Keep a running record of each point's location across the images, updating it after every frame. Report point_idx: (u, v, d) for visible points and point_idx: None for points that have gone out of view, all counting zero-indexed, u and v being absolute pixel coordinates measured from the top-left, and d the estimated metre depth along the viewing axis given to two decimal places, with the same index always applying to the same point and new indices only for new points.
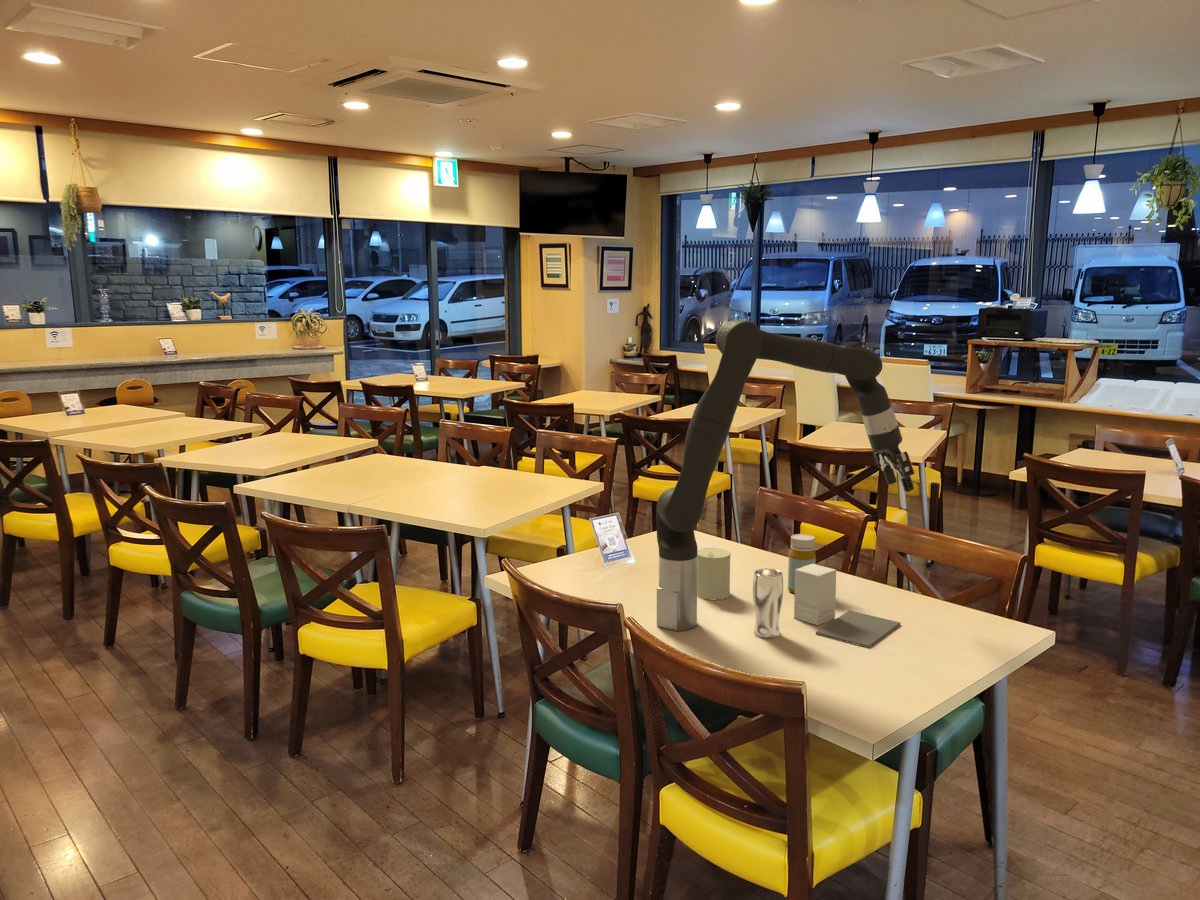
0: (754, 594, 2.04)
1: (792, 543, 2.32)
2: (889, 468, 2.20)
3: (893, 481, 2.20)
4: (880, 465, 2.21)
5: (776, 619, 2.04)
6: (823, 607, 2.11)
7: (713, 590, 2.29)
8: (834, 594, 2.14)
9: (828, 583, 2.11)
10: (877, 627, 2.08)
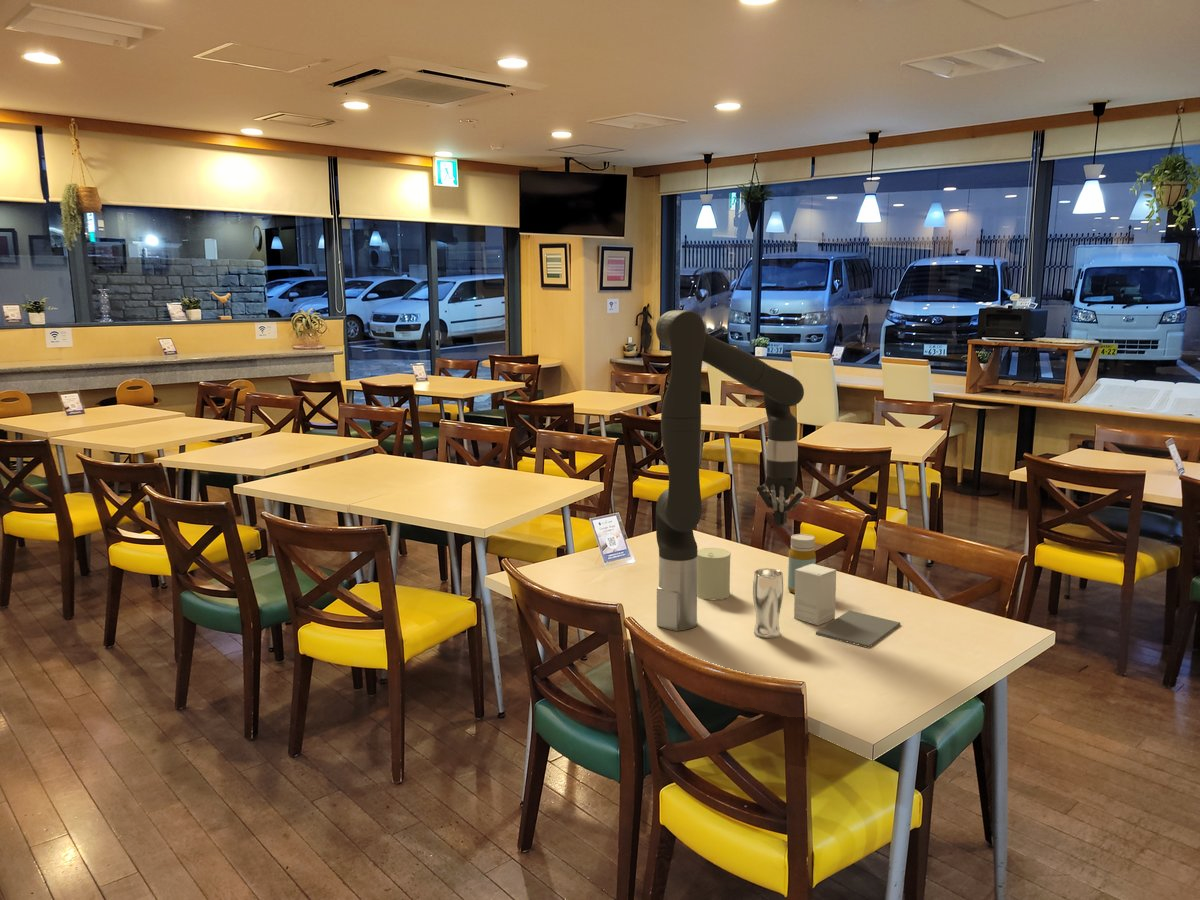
0: (754, 594, 2.04)
1: (792, 543, 2.32)
2: None
3: None
4: (771, 504, 2.18)
5: (776, 619, 2.04)
6: (823, 607, 2.11)
7: (713, 590, 2.29)
8: (834, 594, 2.14)
9: (828, 583, 2.11)
10: (877, 627, 2.08)
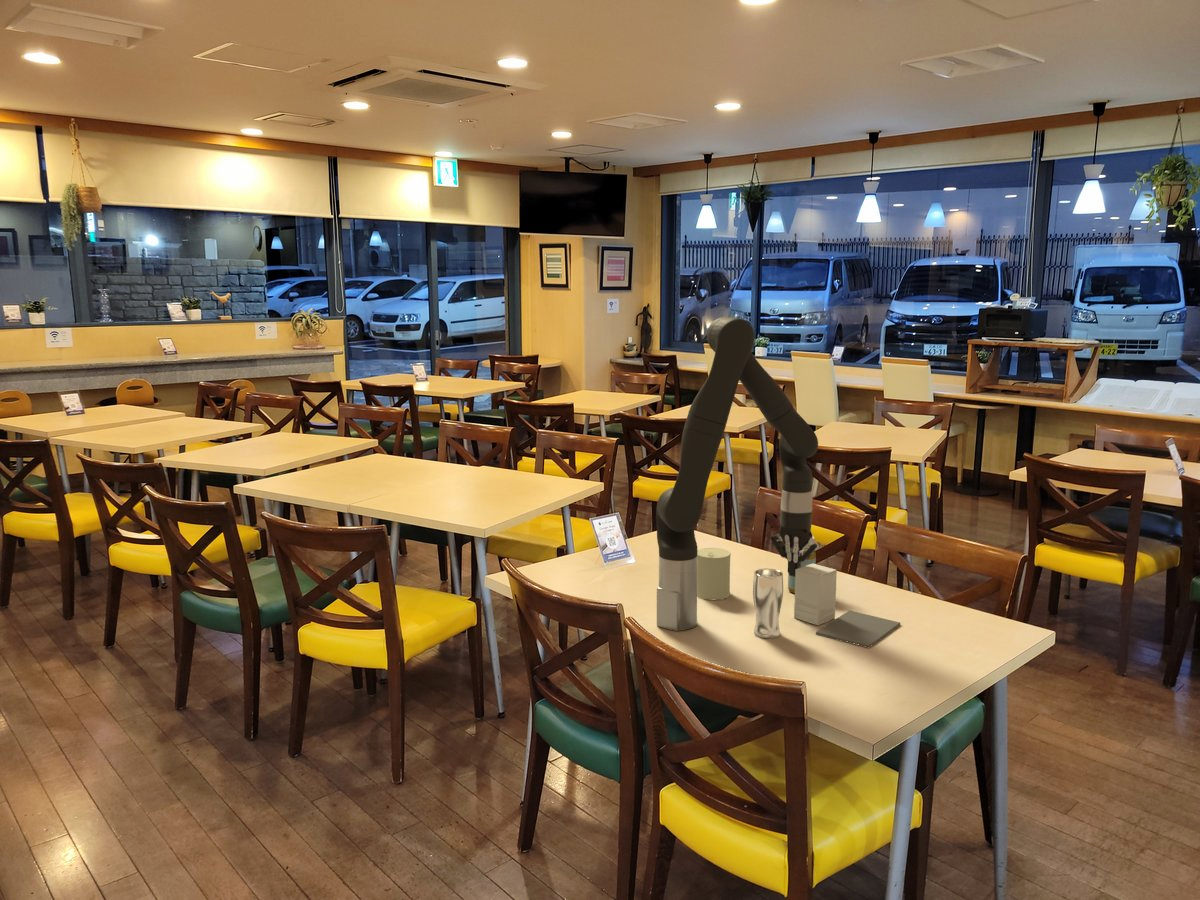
0: (754, 594, 2.04)
1: None
2: None
3: None
4: (785, 554, 2.18)
5: (776, 619, 2.04)
6: (823, 607, 2.11)
7: (713, 590, 2.29)
8: (834, 594, 2.14)
9: (828, 583, 2.11)
10: (877, 627, 2.08)
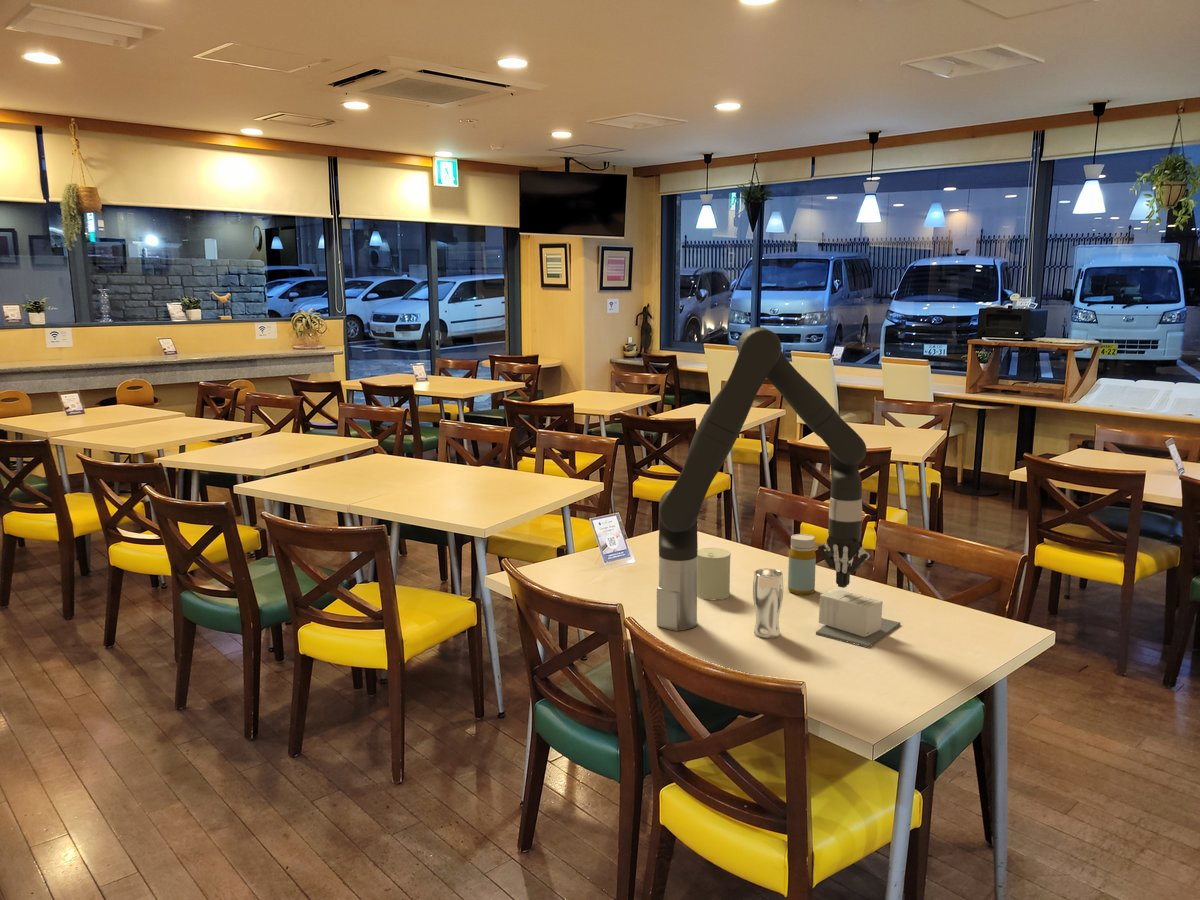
0: (754, 594, 2.04)
1: (792, 543, 2.32)
2: None
3: None
4: (833, 564, 2.09)
5: (776, 619, 2.04)
6: None
7: (713, 590, 2.29)
8: None
9: None
10: None
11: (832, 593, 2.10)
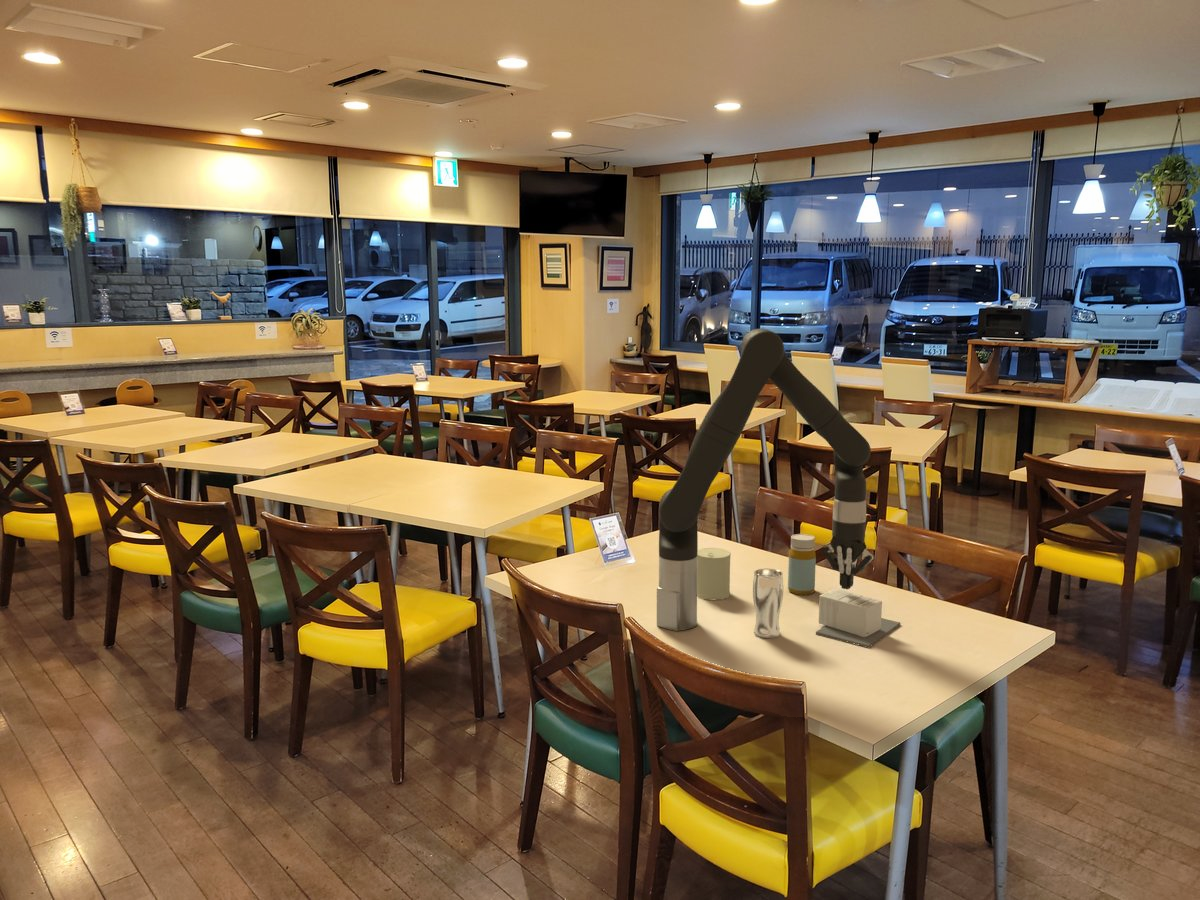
0: (754, 594, 2.04)
1: (792, 543, 2.32)
2: None
3: None
4: (837, 565, 2.09)
5: (776, 619, 2.04)
6: None
7: (713, 590, 2.29)
8: None
9: None
10: None
11: (832, 593, 2.10)
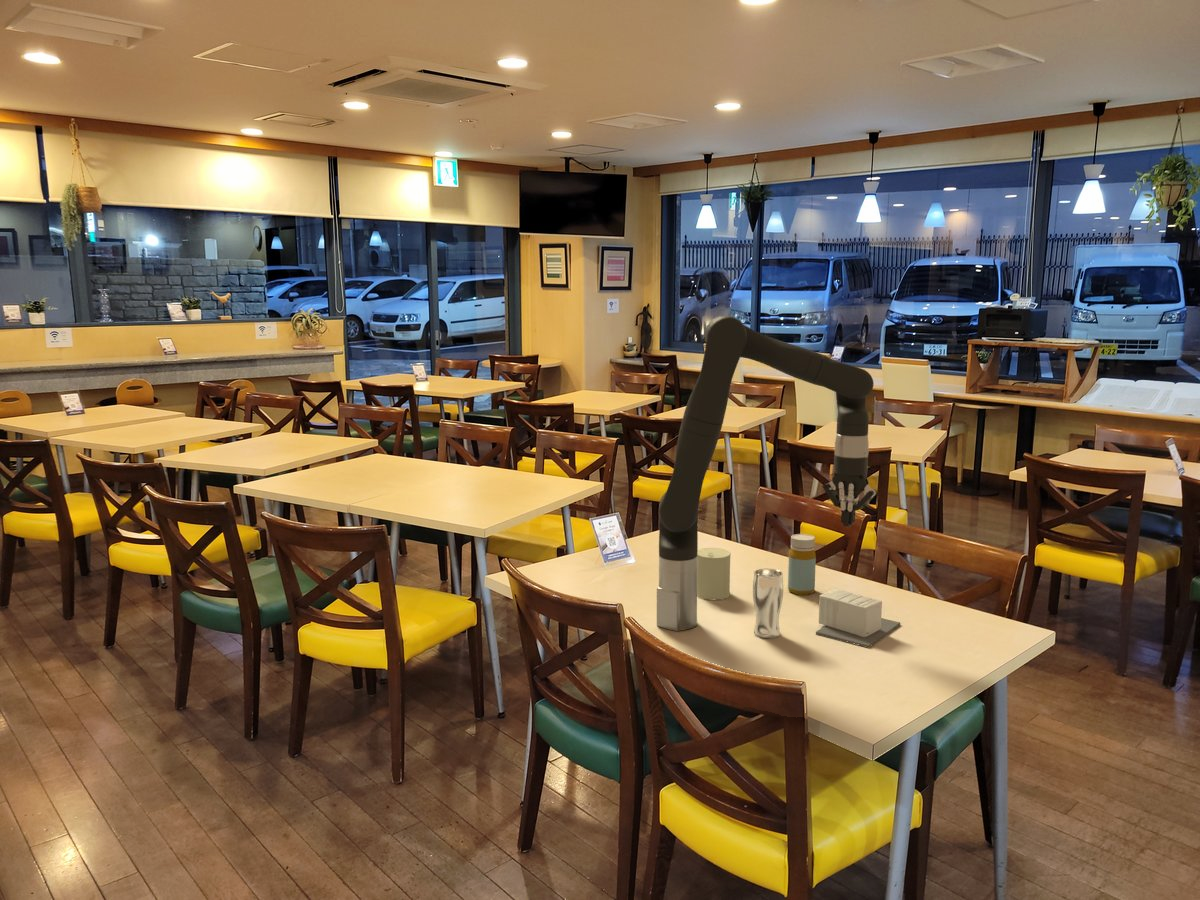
0: (754, 594, 2.04)
1: (792, 543, 2.32)
2: None
3: None
4: (838, 502, 2.06)
5: (776, 619, 2.04)
6: None
7: (713, 590, 2.29)
8: None
9: None
10: None
11: (832, 593, 2.10)
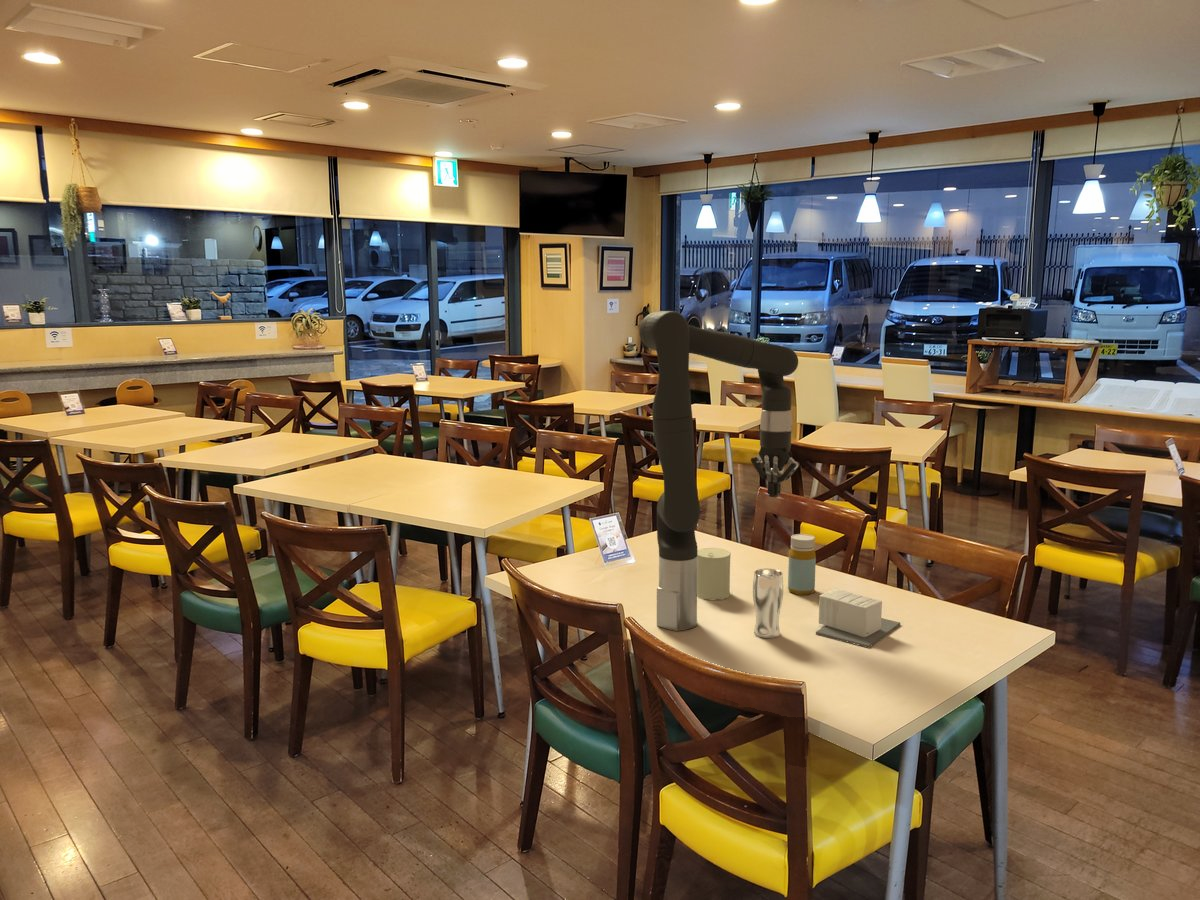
0: (754, 594, 2.04)
1: (792, 543, 2.32)
2: None
3: None
4: (765, 475, 2.18)
5: (776, 619, 2.04)
6: None
7: (713, 590, 2.29)
8: None
9: None
10: None
11: (832, 593, 2.10)
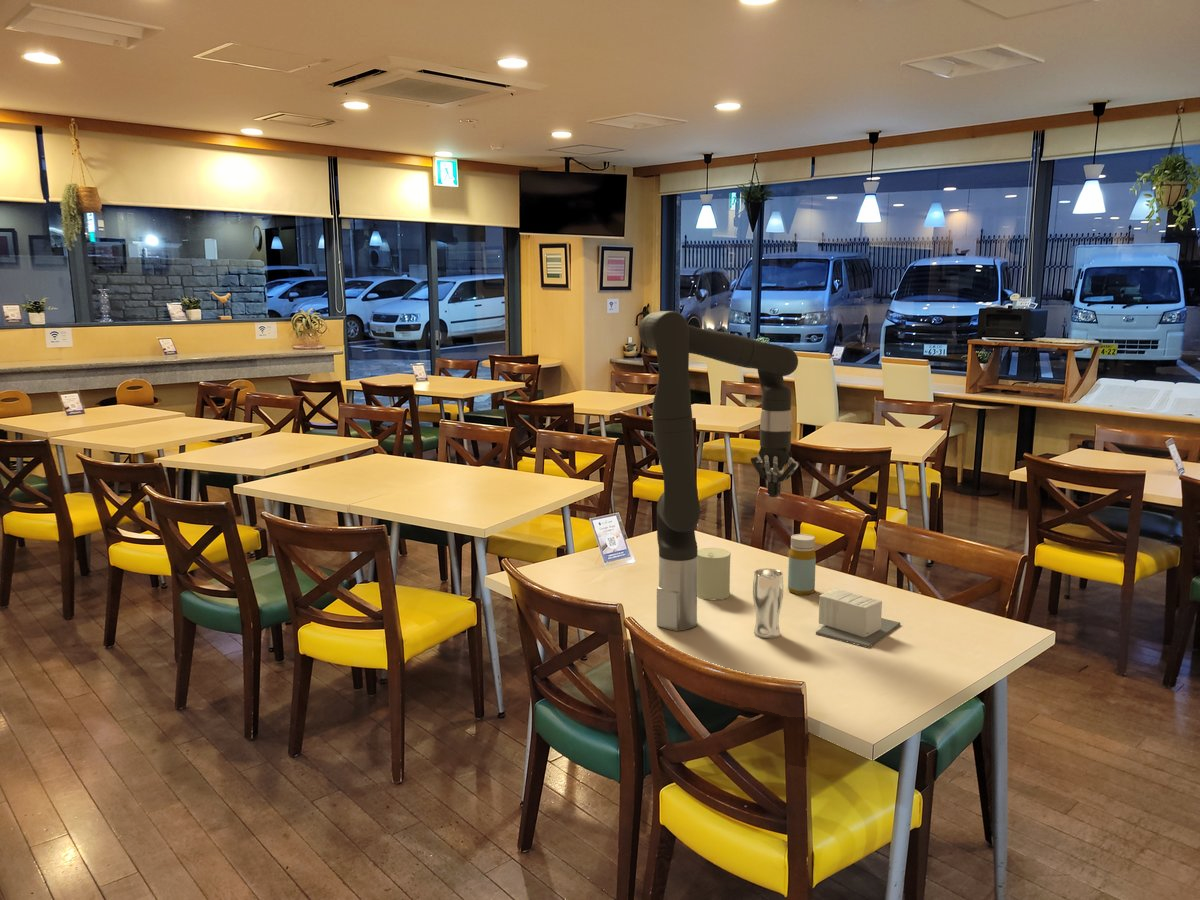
0: (754, 594, 2.04)
1: (792, 543, 2.32)
2: None
3: None
4: (765, 475, 2.18)
5: (776, 619, 2.04)
6: None
7: (713, 590, 2.29)
8: None
9: None
10: None
11: (832, 593, 2.10)
